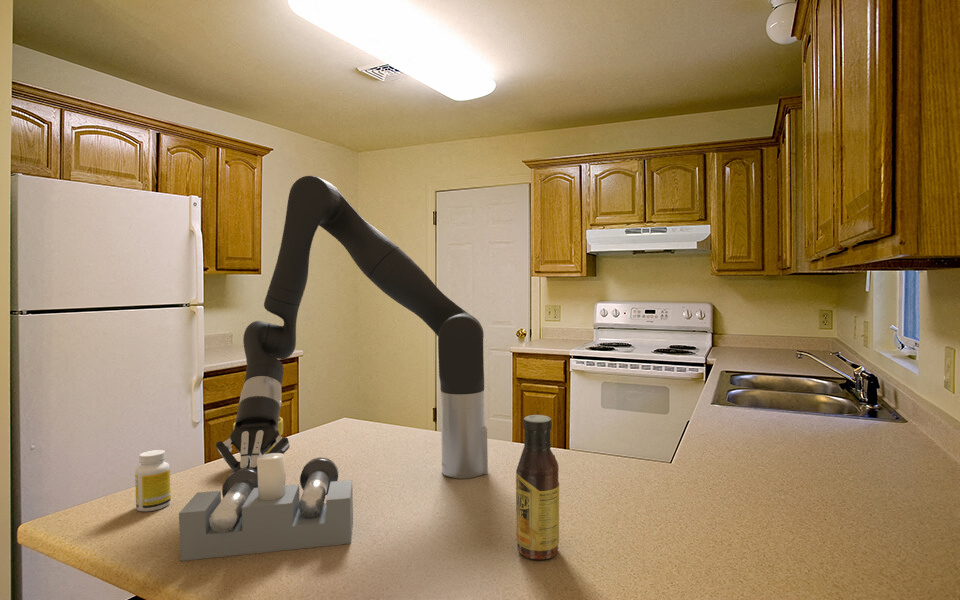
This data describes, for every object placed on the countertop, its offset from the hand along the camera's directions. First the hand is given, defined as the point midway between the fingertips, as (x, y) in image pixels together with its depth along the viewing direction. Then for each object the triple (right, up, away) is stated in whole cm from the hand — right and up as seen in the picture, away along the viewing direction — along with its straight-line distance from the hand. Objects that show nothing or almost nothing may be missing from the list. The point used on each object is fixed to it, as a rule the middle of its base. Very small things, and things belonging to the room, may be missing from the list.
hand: (246, 491), depth 93 cm
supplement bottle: (-19, -5, +6) cm, 21 cm away
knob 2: (+13, -2, -3) cm, 13 cm away
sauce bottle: (+49, -4, -14) cm, 51 cm away
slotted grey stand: (+8, -5, -8) cm, 12 cm away
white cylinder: (+8, +2, -9) cm, 12 cm away
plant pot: (-10, -4, +29) cm, 31 cm away
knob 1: (+1, -2, -7) cm, 8 cm away
